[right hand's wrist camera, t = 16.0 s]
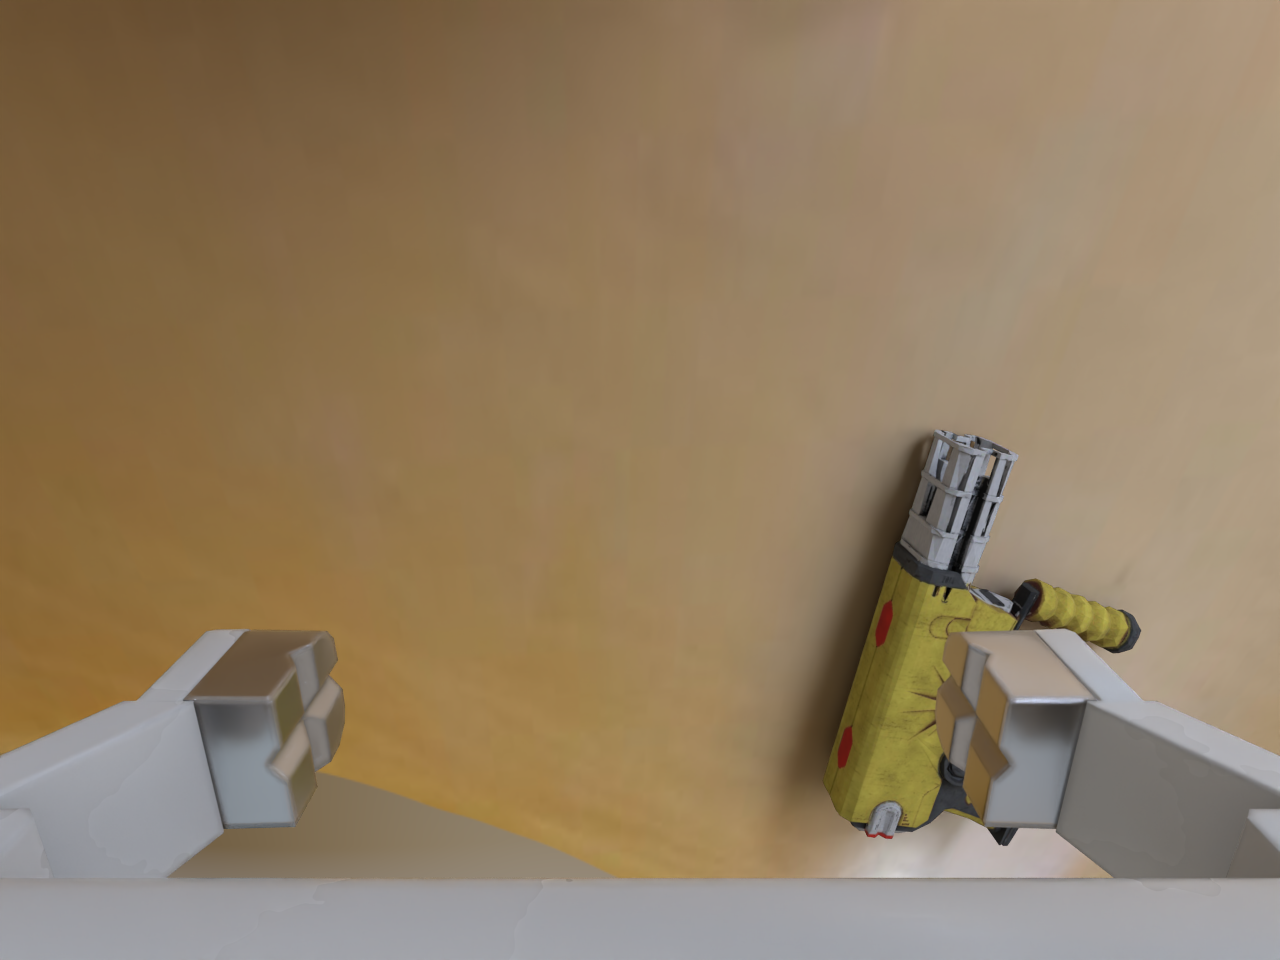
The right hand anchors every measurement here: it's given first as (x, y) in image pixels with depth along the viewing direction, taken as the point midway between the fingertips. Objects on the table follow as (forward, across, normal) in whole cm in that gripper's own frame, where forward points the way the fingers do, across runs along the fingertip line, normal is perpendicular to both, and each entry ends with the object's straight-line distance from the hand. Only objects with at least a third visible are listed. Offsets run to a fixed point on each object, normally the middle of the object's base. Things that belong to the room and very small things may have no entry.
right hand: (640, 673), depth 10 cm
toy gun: (+32, +21, -19) cm, 42 cm away
